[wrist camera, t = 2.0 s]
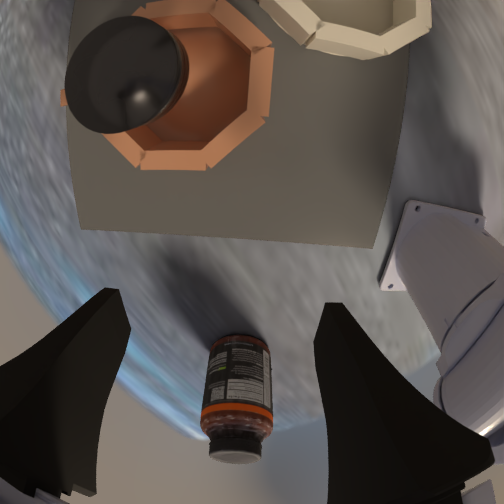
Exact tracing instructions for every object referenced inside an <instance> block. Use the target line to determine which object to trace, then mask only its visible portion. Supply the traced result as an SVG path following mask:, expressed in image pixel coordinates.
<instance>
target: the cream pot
mask: <svg viewBox="0 0 504 504" xmlns="http://www.w3.org/2000/svg"><path fill="white" fill-rule="evenodd" d="M257 2H259V6H260V7H261V8H262V9H263V10H265V11H266V12H267V13H268V14H269V15H270V17H271V18H272V19H273V21H274V22H275V23H276V24H277V25H278V26H279V27H280V28H281V29H282V30H283V31H285V32H286V33H287V34H288V35H290V36H291V37H292V38H294V39H295V40H296V42H297V43H298V44H299V45H300V46H301V45H302V44H304V45H306V47H305V48H307V49H313V50H318V51H321V52H324V53H328V54H332V55H338V56H347V57H352V58H356V59H360V60H366V59H368V60H369V59H373V58H377V57H381V56H385V55H389V54H391V53H392V52H394V51H396V50H397V49H399V48H401V47H403V46H404V45H406V44H408V43H409V42H411V41H413V40H415V39H417V38H418V37H420V36H422V35H424V34H426V33H428V32H429V28H432V20H431V0H257Z"/></svg>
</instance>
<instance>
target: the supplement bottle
mask: <svg viewBox="0 0 504 504" xmlns="http://www.w3.org/2000/svg"><path fill="white" fill-rule="evenodd" d="M271 370H272V368H271V357H270V351H269V349H268V347H267V346H266V345H265V344H264V343H263V342H262V341H260V340H259V339H256V338H253V337H250V336H246V335H232V336H227V337H224V338H221V339H220V340H218V341H216V342H215V343H214V344H213V346H212V348H211V350H210V355H209V361H208V367H207V375H206V382H205V389H204V396H203V404H202V411H201V421H200V425H201V429H202V431H203V432H204V433H205V434H206V435H207V436H208V437H209V438H210V440H211V442H210V443H209V445H210V449H209V456H210V457H211V458H213V459H214V460H216V461H220V462H225V463H232V464H248V463H254V462H257V461H259V460H260V459H261V449H262V445H261V442H262V441H263V440H264V439H265V438H267V437H268V436H269V435H270V434H271V432H272V430H273V403H272V378H271Z"/></svg>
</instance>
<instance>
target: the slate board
mask: <svg viewBox="0 0 504 504" xmlns="http://www.w3.org/2000/svg"><path fill="white" fill-rule="evenodd" d="M156 1H163V0H75V3H74V9H73V15H72V21H71V28H70V36H69V45H68V57H67V67H68V64H69V61H70V59H71V57H72V55H73V53H74V51H75V49H76V48H77V46H78V45H79V43H80V42H81V41H82V40H83V39H84V37H85V36H86V35H87V34H89V33H90V32H91V31H92V30H93V29H95V28H96V27H97V26H99V25H101V24H102V23H104V22H106V21H108V20H111V19H114V18H117V17H122V16H131V15H132V14H133V13H134V12H135V11H136V10H137V9H138V8H139V7H140V6H142V7H143V8H145V9H146V3H150V2H156ZM226 1H227V2H228V3H230V4H231V5H232V6H233V7H234V8H236V9H237V10H238V11H239V12H240V13H241V14H243V15H244V16H245V17H246V18H247V19H248V20H249V21H250V22H251V23H253V24H254V25H255V26H256V27H257V28H258V29H259V30H260V31H261V32H262V33H263V34H264V35H265V36H266V37H267V38H268V39H269V40H270V41H271V42H272V45H271V48H274V59H273V72H272V84H271V96H270V108H269V117H266V116H263V117H264V119H265V123H264V124H263V125H262V126H260V127H259V128H258V129H257V130H256V131H254V132H253V133H252V134H251V135H249V136H248V137H247V138H246V139H245V140H243V141H242V142H241V143H240V144H239V145H238V146H236V147H235V148H234V149H233V150H232V151H231V152H229V153H228V154H227V155H226V156H225V157H224V158H223V159H221V160H220V161H219V162H218V163H217V164H216V165H215V166H214V167H212V168H210V167H209V166H208V168H207V169H206V171H203V170H141V167H140V165H139V166H138V167H136V168H135V167H134V166H133V165H132V164H131V163H130V162H129V161H128V160H127V159H126V158H125V157H124V156H123V155H122V154H121V153H120V152H119V151H118V150H117V149H116V148H115V147H114V146H113V145H112V144H111V143H110V142H109V141H108V140H107V139H106V138H105V137H104V136H103V135H102V134H101V133H97V132H94V131H92V130H89V129H87V128H86V127H84V126H83V125H82V124H81V123H79V122H78V121H77V119H76V118H75V117H74V116H73V114H72V112H71V111H70V109H69V106H68V105H66V118H67V137H68V149H69V159H70V168H71V176H72V183H73V189H74V196H75V201H76V207H77V212H78V217H79V222H80V227H81V229H85V230H105V231H124V232H142V233H159V234H176V235H192V236H208V237H223V238H238V239H253V240H267V241H281V242H294V243H307V244H320V245H333V246H345V247H357V248H369V249H373V246H374V243H375V239H376V236H377V233H378V229H379V226H380V222H381V218H382V215H383V211H384V207H385V203H386V199H387V195H388V191H389V187H390V183H391V178H392V174H393V169H394V164H395V159H396V154H397V149H398V144H399V138H400V132H401V126H402V119H403V112H404V105H405V97H406V88H407V78H408V66H409V49H410V42H409V43H408V44H406V45H404V46H403V47H401V48H399V49H397V50H396V51H394V52H392V53H391V54H389V55H385V56H381V57H377V58H373V59H369V60H368V59H366V60H360V59H356V58H352V57H347V56H338V55H332V54H328V53H324V52H321V51H318V50H313V49H307V48H305V47H306V45H304V44H302V45H301V46H300V45H299V44H298V43H297V42H296V40H295V39H294V38H292V37H291V36H290V35H288V34H287V33H286V32H285V31H283V30H282V29H281V28H280V27H279V26H278V25H277V24H276V23H275V22H274V21H273V19H272V18H271V17H270V15H269V14H268V13H267V12H266V11H265V10H263V9H262V8H261V7H260V6H259V2H257V0H226Z"/></svg>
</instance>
